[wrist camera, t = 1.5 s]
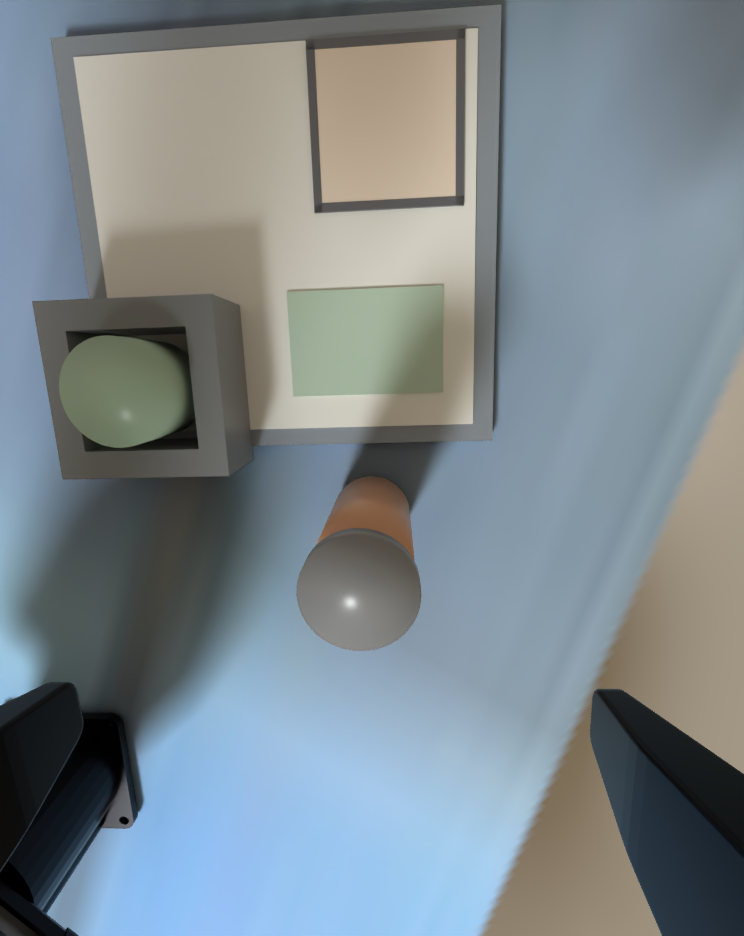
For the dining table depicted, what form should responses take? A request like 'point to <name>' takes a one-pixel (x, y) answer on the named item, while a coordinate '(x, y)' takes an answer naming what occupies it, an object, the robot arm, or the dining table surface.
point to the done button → (127, 390)
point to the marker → (362, 569)
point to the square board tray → (287, 229)
